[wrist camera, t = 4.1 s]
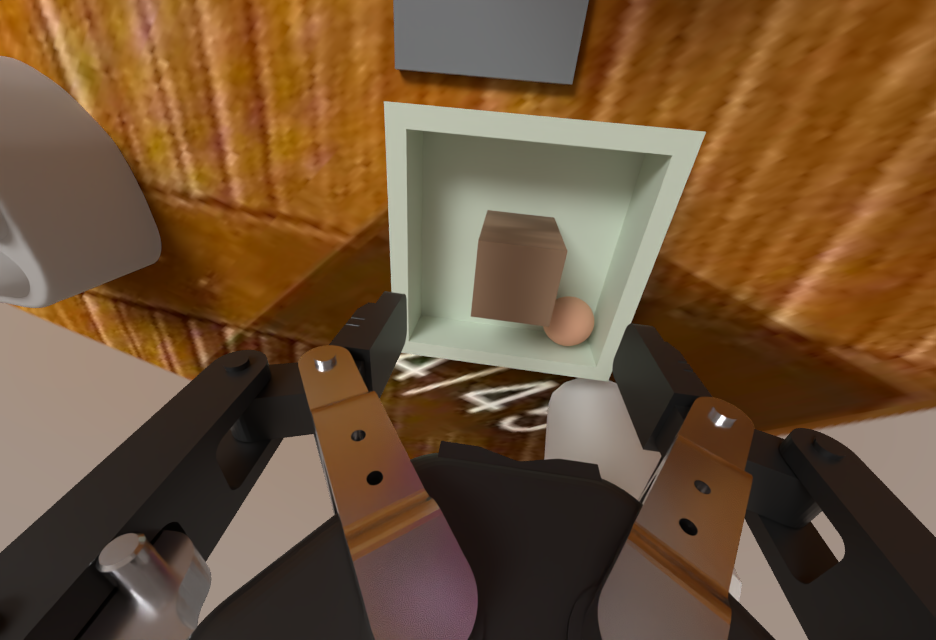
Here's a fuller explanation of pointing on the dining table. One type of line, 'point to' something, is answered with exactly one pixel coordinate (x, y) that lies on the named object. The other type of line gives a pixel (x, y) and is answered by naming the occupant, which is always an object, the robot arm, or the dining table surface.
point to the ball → (570, 321)
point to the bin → (533, 193)
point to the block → (518, 268)
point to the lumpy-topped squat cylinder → (63, 196)
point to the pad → (490, 38)
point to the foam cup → (602, 438)
